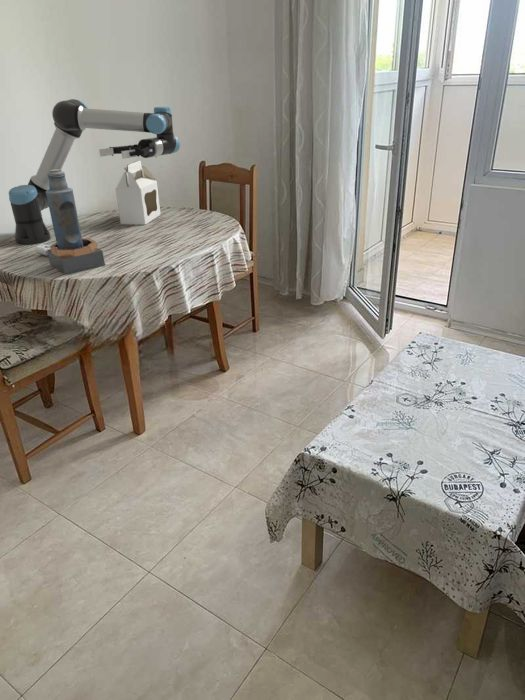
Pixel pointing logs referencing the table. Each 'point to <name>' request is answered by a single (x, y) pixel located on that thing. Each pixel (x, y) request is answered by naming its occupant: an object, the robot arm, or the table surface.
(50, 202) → the bottle
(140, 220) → the gable box
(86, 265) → the copper and grey block
